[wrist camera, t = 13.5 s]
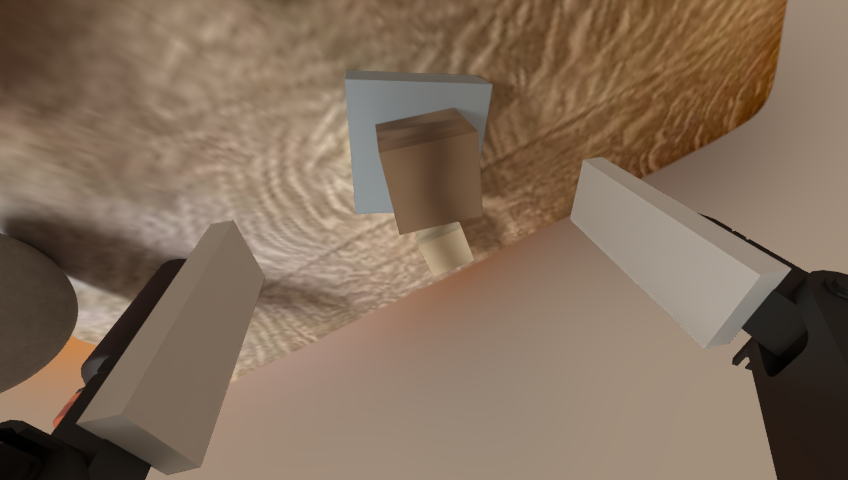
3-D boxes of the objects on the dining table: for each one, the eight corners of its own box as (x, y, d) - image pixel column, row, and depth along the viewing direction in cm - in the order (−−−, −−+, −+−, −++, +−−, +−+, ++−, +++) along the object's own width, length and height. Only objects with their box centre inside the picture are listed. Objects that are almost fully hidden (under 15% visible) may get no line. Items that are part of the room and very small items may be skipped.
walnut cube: (392, 195, 35) (399, 234, 29) (375, 124, 31) (378, 153, 24) (460, 180, 36) (482, 215, 29) (454, 107, 31) (478, 131, 24)
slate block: (356, 190, 41) (355, 213, 36) (347, 69, 33) (344, 79, 28) (459, 188, 43) (472, 209, 38) (474, 74, 35) (492, 84, 30)
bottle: (180, 249, 41) (64, 398, 25) (226, 277, 45) (152, 423, 29) (147, 275, 43) (19, 431, 27) (195, 300, 46) (108, 451, 30)
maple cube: (426, 250, 48) (434, 276, 43) (412, 221, 45) (418, 246, 40) (462, 235, 48) (474, 260, 43) (450, 204, 44) (461, 227, 39)
